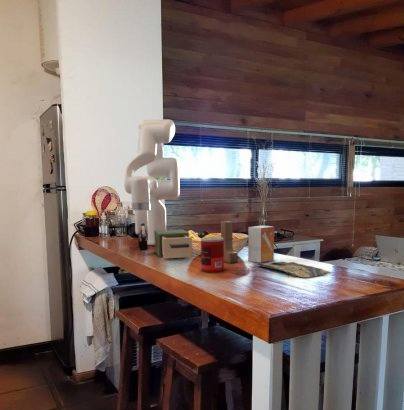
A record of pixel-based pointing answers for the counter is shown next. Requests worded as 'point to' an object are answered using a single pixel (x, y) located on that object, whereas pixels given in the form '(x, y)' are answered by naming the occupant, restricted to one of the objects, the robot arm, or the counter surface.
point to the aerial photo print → (296, 269)
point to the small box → (260, 243)
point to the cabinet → (163, 233)
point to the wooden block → (228, 242)
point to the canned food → (212, 254)
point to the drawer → (176, 246)
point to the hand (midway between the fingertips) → (143, 248)
